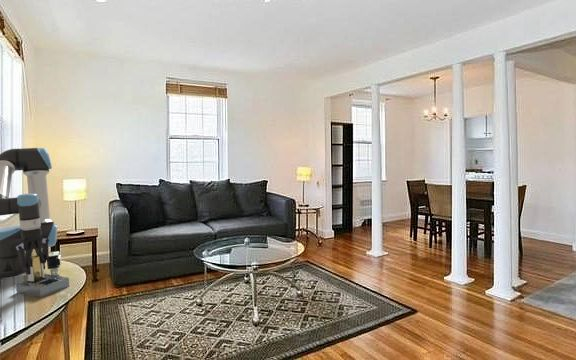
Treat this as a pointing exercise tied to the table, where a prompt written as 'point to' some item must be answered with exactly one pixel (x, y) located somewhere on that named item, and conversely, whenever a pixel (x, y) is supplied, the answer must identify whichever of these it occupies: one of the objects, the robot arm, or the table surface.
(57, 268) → the pneumatic valve
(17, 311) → the table surface
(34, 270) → the tan rectangular block
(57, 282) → the jig
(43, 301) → the table surface
